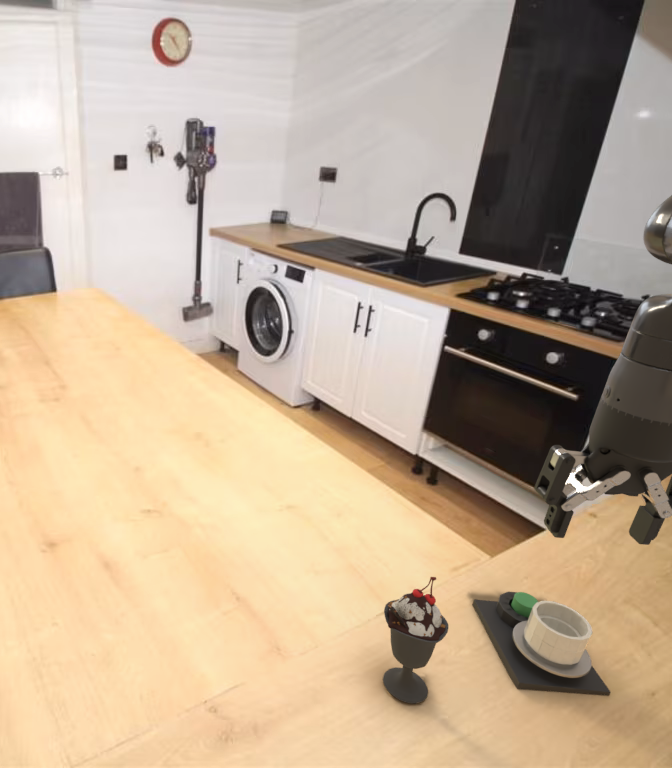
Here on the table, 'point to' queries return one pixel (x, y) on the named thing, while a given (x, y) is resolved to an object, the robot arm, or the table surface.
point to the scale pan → (554, 668)
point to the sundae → (412, 642)
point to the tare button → (523, 603)
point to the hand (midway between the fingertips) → (596, 536)
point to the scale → (520, 669)
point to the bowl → (557, 632)
